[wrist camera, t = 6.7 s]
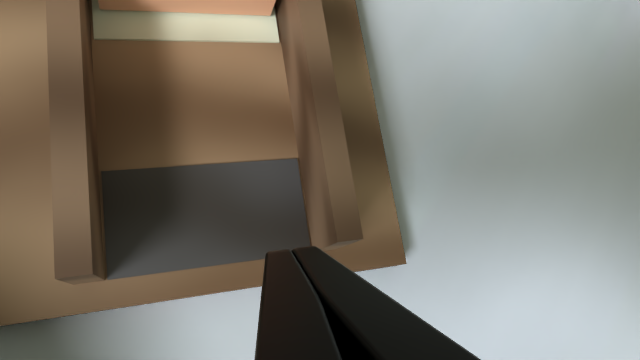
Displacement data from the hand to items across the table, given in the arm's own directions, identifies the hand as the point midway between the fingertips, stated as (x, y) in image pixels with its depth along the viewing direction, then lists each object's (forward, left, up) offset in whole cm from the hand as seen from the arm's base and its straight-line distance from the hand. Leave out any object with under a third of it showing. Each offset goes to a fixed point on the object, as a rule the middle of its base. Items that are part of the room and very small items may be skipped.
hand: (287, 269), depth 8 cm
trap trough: (+9, -9, -12) cm, 18 cm away
